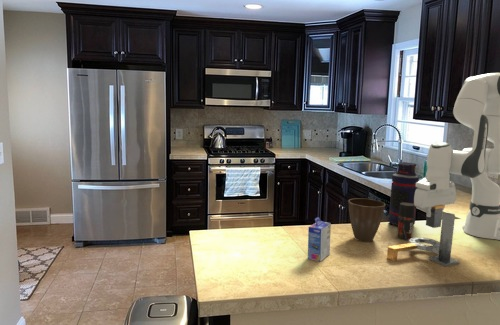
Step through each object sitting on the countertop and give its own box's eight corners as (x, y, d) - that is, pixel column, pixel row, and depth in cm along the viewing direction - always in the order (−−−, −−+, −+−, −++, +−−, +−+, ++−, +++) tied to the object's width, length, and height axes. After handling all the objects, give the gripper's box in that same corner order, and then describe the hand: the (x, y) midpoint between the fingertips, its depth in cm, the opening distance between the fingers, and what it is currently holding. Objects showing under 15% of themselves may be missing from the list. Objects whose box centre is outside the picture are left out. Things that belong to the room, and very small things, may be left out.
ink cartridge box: (316, 250, 159) (318, 214, 157) (330, 253, 156) (332, 216, 154) (306, 258, 150) (308, 220, 148) (320, 262, 147) (322, 222, 145)
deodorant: (399, 234, 182) (402, 201, 180) (413, 237, 178) (416, 204, 176) (395, 237, 178) (398, 204, 175) (409, 241, 174) (412, 206, 172)
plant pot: (351, 231, 185) (354, 196, 183) (385, 237, 177) (388, 201, 175) (341, 240, 172) (343, 202, 170) (377, 247, 165) (380, 208, 162)
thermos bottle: (406, 229, 190) (411, 165, 185) (383, 223, 199) (388, 162, 194) (421, 225, 198) (427, 163, 194) (398, 219, 208) (404, 160, 203)
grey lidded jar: (432, 223, 172) (434, 202, 170) (442, 226, 167) (444, 205, 166) (424, 224, 170) (426, 203, 168) (433, 228, 165) (435, 206, 164)
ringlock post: (423, 246, 167) (427, 203, 165) (463, 263, 151) (468, 215, 148) (379, 253, 157) (382, 208, 155) (416, 272, 141) (421, 221, 139)
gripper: (448, 179, 173) (445, 211, 175) (412, 183, 164) (409, 216, 166) (461, 182, 167) (458, 215, 169) (425, 186, 159) (422, 221, 161)
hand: (434, 216), depth 168 cm, fingers closed on grey lidded jar, 4 cm apart
